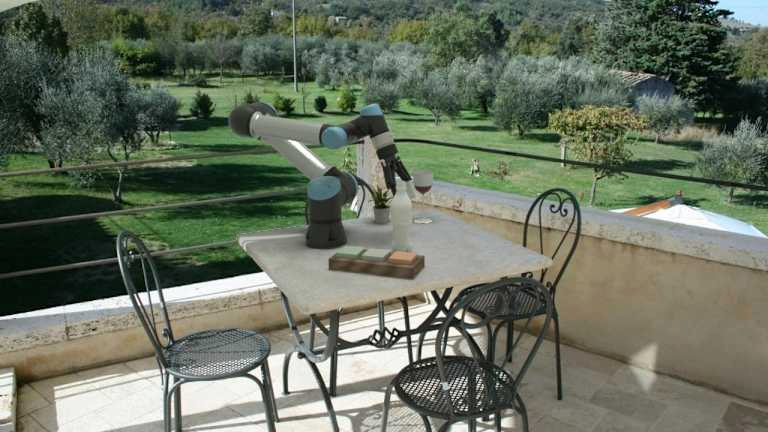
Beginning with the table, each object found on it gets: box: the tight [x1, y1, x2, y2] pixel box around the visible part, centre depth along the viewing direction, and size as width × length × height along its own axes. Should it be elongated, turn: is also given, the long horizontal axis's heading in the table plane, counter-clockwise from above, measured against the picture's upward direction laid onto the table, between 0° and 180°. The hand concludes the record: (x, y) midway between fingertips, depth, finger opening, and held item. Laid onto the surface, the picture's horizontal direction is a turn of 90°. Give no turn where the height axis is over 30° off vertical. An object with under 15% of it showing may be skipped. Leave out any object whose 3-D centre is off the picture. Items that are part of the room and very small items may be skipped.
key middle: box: [362, 248, 392, 262], centre depth 195 cm, size 7×7×3 cm
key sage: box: [335, 245, 366, 260], centre depth 199 cm, size 7×7×3 cm
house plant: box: [366, 183, 393, 224], centre depth 247 cm, size 14×14×16 cm
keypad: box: [327, 249, 426, 280], centre depth 196 cm, size 28×12×4 cm, turn 69°
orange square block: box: [389, 251, 419, 265], centre depth 192 cm, size 7×7×3 cm
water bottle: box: [390, 180, 413, 253], centre depth 207 cm, size 7×7×25 cm
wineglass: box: [412, 169, 434, 224], centre depth 246 cm, size 8×9×20 cm
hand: (407, 201), depth 220 cm, fingers open, 13 cm apart
